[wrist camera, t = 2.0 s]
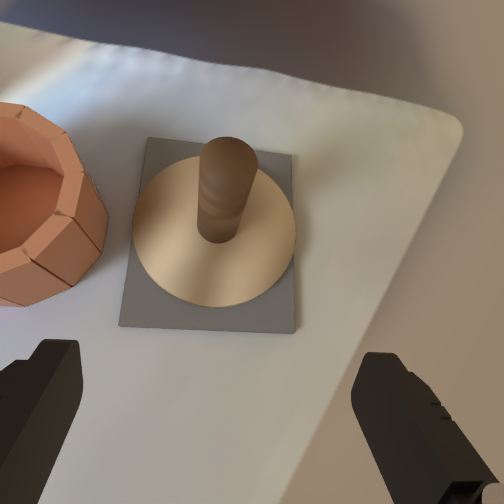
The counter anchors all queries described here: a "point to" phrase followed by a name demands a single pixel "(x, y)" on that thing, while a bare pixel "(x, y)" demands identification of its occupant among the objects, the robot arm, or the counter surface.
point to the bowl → (44, 209)
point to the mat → (192, 316)
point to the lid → (214, 227)
